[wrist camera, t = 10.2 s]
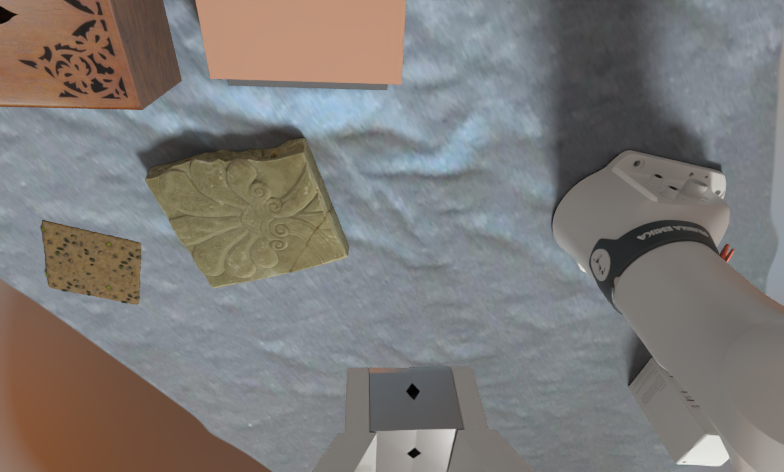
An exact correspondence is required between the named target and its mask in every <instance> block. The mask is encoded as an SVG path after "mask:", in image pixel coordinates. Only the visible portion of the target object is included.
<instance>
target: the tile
mask: <svg viewBox="0 0 784 472" xmlns="http://www.w3.org/2000/svg"><path fill="white" fill-rule="evenodd" d="M195 1H196V6H197V11H198V16H199V22H200V27H201V32H202V37H203V42H204V48H205V53H206V58H207V63H208V68H209V73H210V79H238V80H270V81H302V82H334V83H366V84H399V85H401V82H402V64H403V46H404V28H405V10H406V0H195Z"/></svg>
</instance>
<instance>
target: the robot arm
mask: <svg viewBox="0 0 784 472" xmlns="http://www.w3.org/2000/svg"><path fill="white" fill-rule="evenodd" d="M635 161H637V162H636V163H635V164H634V162H635ZM725 190H726V178H725V175H724V174H723V173H721V172H720V171H718V170H714V169H710V168H706V167H701V166H697V165H693V164H688V163H684V162H680V161H675V160H671V159H667V158H662V157H658V156H654V155H649V154H645V153H641V152H636V151H632V150H627V151H624V152H622V153H621V154H619V155H618V156H617V157H616V158H615V159H613V160H612V161H611V162H610V163H609V164H608V165H607V166H606V167H605V168H603V169H602V170H600V171H598V172H596V173H594V174H592V175H590V176H588V177H587V178H585V179H583V180H582V181H580V182H579V183H578V184H576V185H575V186H574V187H573V188H572V189H571V190H570V191H569V192H568V193H567V194H566V195H565V196H564V198H563V199H562V201H561V202H560V204H559V205H558V207H557V209H556V212H555V215H554V218H553V234H554V238H555V240H556V242H557V243H558V245H559V246H560V247H561V248H562V249H563V250H565V251H566V252H567V253H569V254H570V255H571V256H572V257H573V258H574V260H575V262H576V264H577V266H578V267H579V268H580V269H581V270H582V271H583V272H587V273H588V274H589V275H590V276H591V277H592V278H593V280H594V281H595V282H596V283H597V285H598V287H599V288H600V290H601V291H602V293H603V294H604V296H605V297H606V298H607V301H608V302H609V303H610V305H612V306H613V308H614V309H615V310H616V311H617V312H619V313H620V314H622V315H624V317H625V318H626V320H627V321H628V322H629V324H630V325H631V327H632V328H633V329H634V331H635V332H636V334H637V335H638V337H639V338H640V339H641V341H642V342H643V344H644V345H645V346H646V348H647V349H648V351H649V352H650V353H651V355H652V356H653V358H654V359H655V361H656V362H657V363H658V364H659V365H660V366H661V367H662V368H664V369H666V370H667V371H668V372H669V373H670V374H671V375H672V376H673V377H674V378H675V379H676V380H677V381H678V382H679V383H680V384H681V386H682V387H683V388H684V389H685V390H686V391H687V392H688V393H689V395H690V396H691V397H692V398H693V399H694V401H695V402H696V403H697V404H698V405H699V407H700V408H701V409H702V410H703V412H704V413H705V414H706V416H707V417H708V418H709V420H710V421H711V423H712V424H713V426H714V428H715V429H716V431H717V433H718V435H719V437H720V439H721V441H722V443H723V445H724V447H725V449H726V451H727V453H728V455H729V458H730V461H731V463H732V465H733V468H734V471H735V472H784V306H783V305H781V304H779V303H778V302H776V301H774V300H773V299H771V298H770V297H768V296H767V295H766V294H764V293H763V292H762V291H760V290H759V289H758V288H757V287H755V286H754V285H753V284H752V283H751V282H749V281H748V280H747V279H746V278H745V277H744V276H742V275H741V274H740V273H739V272H738V271H736V270H735V269H734V268H733V267H732V266H731V265H729V264H728V263H727V262H728V261H729V259H730V258H731V256H732V254H733V252H734V250H735V249H732V250H731V251H730V252H729V253H728V249H729V244H726V245H725V246H724V248H723V250H722V251H721V253H720V255H719V252H718V250H717V246H718V244H719V243H720V241H721V239H722V238H723V236H724V234H725V231H726V229H727V226H728V223H729V219H730V210H729V206H728V204H727V203H726V202H725V201H724V200H723V198H724V195H725ZM726 255H727V256H726ZM312 472H535V471H534V470H533V469H532V468H531V467H530V466H529V465H528V464H527V462H526V461H525V460H524V459H523V458H522V457H521V456H520V455H519V454H518V453H517V452H516V451H515V450H514V449H513V448H512V447H511V446H510V445H509V444H508V442H507V441H506V440H505V439H504V438H503V437H502V436H501V435H500V434H499V433H498V432H497V431H496V430H495V429H488V425H487V422H486V418H485V414H484V410H483V406H482V403H481V399H480V395H479V391H478V388H477V384H476V380H475V376H474V372H473V369H472V368H471V367H470V366H450V367H449V366H426V367H409V368H348V370H347V382H346V407H345V433H339V434H337V436H336V437H335V439H334V440H333V442H332V443H331V445H330V446H329V448H328V449H327V451H326V452H325V453H324V455H323V456H322V458H321V459H320V461H319V462H318V464H317V465H316V467H315V468H314V470H313V471H312Z"/></svg>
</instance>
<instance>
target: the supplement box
mask: <svg viewBox="0 0 784 472" xmlns="http://www.w3.org/2000/svg"><path fill="white" fill-rule="evenodd" d="M629 389H630V391H631V392H632V394H633V396H634V397H635V399H636V400H637V402H638V404H639V405H640V407H641V409H642V410H643V412H644V413H645V415H646V417H647V418H648V420H649V421H650V423H651V425H652V426H653V428H654V429H655V431H656V433H657V434H658V436H659V438H660V439H661V441H662V442H663V444H664V446H665V447H666V449H667V450H668V452H669V454H670V455H671V457H672V459H673V460H674V462H675V463H676V464H690V465H707V466H721V465H722V464H723V463H724V462H726V461H727V460H728V459H729V455H728V453H727V451H726V449H725V447H724V445H723V443H722V441H721V439H720V437H719V435H718V433H717V431H716V429H715V428H714V426H713V424H712V423H711V421H710V420H709V418H708V417H707V416H706V414H705V413H704V412H703V410H702V409H701V408H700V407H699V405H698V404H697V403H696V402H695V401H694V399H693V398H692V397H691V396H690V395H689V393H688V392H687V391H686V390H685V389H684V388H683V387H682V386H681V384H680V383H679V382H678V381H677V380H676V379H675V378H674V377H673V376H672V375H671V374H670V373H669V372H668V371H667V370H666V369H664V368H662V367H661V366H660V365H659V364H658V363H657V362H656V361H655V359H654V358H651V359H650V360H649V361H648V363H647V364H646V365H645V367H644V368H643V369H642V370H641V372H640V373H639V374H638V375H637V377H636V378H635V379H634V381H633V382H632V383H631V384H630V386H629Z"/></svg>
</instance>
